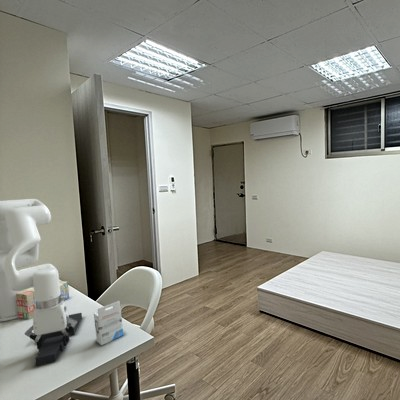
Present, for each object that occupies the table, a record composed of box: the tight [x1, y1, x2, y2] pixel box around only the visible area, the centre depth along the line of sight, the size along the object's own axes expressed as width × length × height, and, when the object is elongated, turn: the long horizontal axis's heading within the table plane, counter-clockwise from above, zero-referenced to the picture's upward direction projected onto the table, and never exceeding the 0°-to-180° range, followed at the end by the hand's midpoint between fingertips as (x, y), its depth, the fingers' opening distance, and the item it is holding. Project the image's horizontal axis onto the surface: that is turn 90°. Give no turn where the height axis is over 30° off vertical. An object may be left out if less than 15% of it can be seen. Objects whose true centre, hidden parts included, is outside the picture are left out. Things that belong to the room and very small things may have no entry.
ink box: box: [93, 300, 124, 346], centre depth 105 cm, size 8×5×15 cm, turn 140°
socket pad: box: [41, 312, 83, 340], centre depth 113 cm, size 12×14×3 cm
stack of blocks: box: [16, 280, 70, 320], centre depth 133 cm, size 21×6×12 cm, turn 168°
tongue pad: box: [34, 335, 66, 367], centre depth 98 cm, size 12×7×3 cm, turn 22°
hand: (54, 346), depth 100 cm, fingers closed on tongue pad, 7 cm apart
